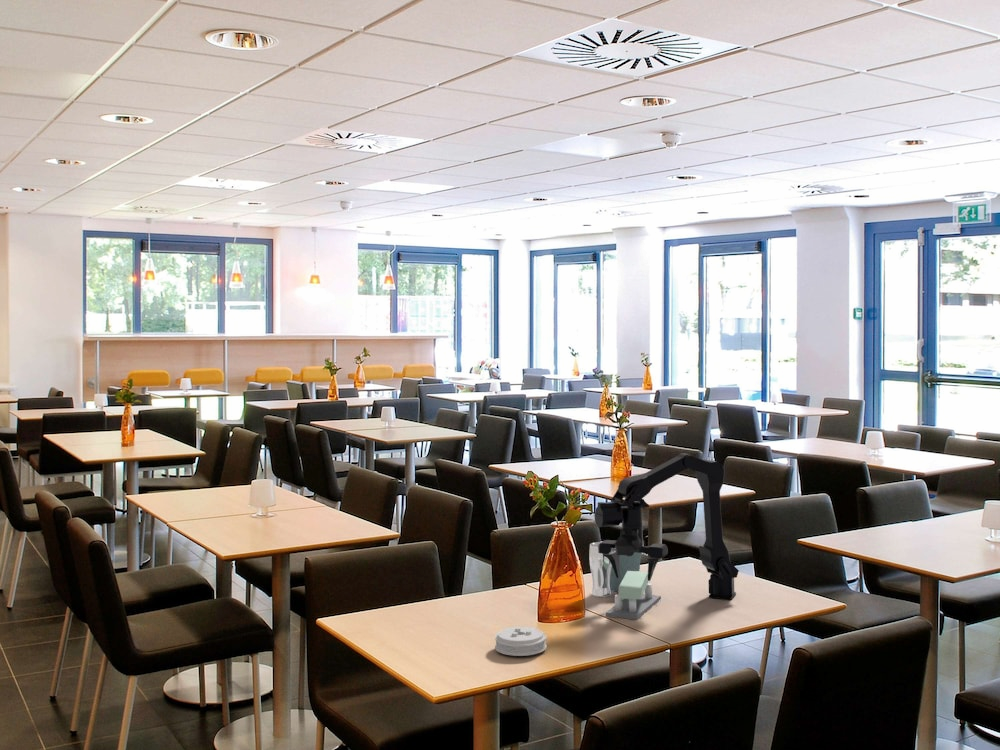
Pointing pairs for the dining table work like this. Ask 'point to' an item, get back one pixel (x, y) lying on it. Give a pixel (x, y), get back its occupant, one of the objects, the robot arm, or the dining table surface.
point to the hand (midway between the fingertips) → (633, 579)
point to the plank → (633, 585)
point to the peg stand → (633, 605)
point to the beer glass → (600, 572)
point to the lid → (520, 641)
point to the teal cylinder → (625, 568)
